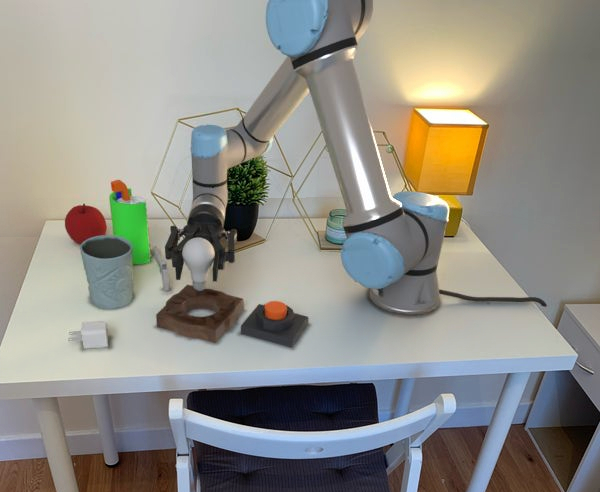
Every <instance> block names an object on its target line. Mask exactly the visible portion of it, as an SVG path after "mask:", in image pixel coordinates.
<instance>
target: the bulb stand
mask: <svg viewBox="0 0 600 492" xmlns="http://www.w3.org/2000/svg"><path fill="white" fill-rule="evenodd" d="M244 303H245V301H244V298H242V297H239V296H234V295H230V294H227V293H225V292H224V291H220V290H216V289H213V288H205V289H204V290H202V291H198V290H195V289H194V288H193V285H192V284H191V285H190V284H186V285H185V286H184V287H183V288H182V289H181V290H180V291H179V292H177V293H174V294H173V295H172V296H171V297H170V298H168V299H167V300H166V302H165V305H164V306H163V307H162V308H161V309H160V310H159V311H158V312H157V313H155V318H156V327H157V328H159V329H163V330H166V331H170V332H174V333H175V334H177V335H179V336H182V337H185V338H189V339H199V340H202V341H207V342H210V343H213V344H217V343H218V342H219V340H221V338H222V337H223V336H224V334H226V333H228V332H230V331H231V329H233V328H234V326H236V322H237V321H236V320H237V319H238V318H239V317H240V316H241V314H242V313H243V312H244ZM194 310H195V311H196V310H208V311H212V312H214V313H212V314H209V315H205V316H204V315H203V316H199V315H196V316H195V315H191V314H189V312H191V311H194Z"/></svg>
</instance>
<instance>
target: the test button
mask: <svg viewBox="0 0 600 492" xmlns="http://www.w3.org/2000/svg"><path fill="white" fill-rule="evenodd" d="M265 304H266V305H265ZM265 304H264V305H265V312H264V314H265V316H266V317H267V318H269V319H273V320H280V319H283V318H285V317H286V315H287V306H288V305H287V304H286V303H284V302H283V301H280V300H271V301H268V302H266V303H265ZM286 305H287V306H286Z"/></svg>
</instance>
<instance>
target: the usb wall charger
mask: <svg viewBox="0 0 600 492" xmlns="http://www.w3.org/2000/svg"><path fill="white" fill-rule="evenodd" d="M68 335H69V336H76V337H68V338H67V340H68V342H82V345H83V349H84V350H88V349H102V348H105V349H106V348H109V331H108V325H107V320H99V321H85V322H81V329H80V330H74V331H68Z"/></svg>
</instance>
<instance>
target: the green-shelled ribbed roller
mask: <svg viewBox="0 0 600 492" xmlns="http://www.w3.org/2000/svg"><path fill="white" fill-rule="evenodd" d="M110 187H111V192H110V194H109V197H108V198H109V207H110V217H111V224H112V226H111V227H112V235H114V236H119V237H122V238H125V239H127V240H128V241H130V242H131V244H132V246H133V257H132V265H142V264H147V263H150V262H151V257H152V246H151V244H150V242H149V241H150V239H149V235H150V234H149V227H148V226H149V225H148V222H149V221H148V213H147V212H148V209H147V201H146V199H145V198H143V197H141V196H135V195H132V188H128V186H127V184H126V183H125V182H123V181H122V180H121V179H115V180H111V181H110Z"/></svg>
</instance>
